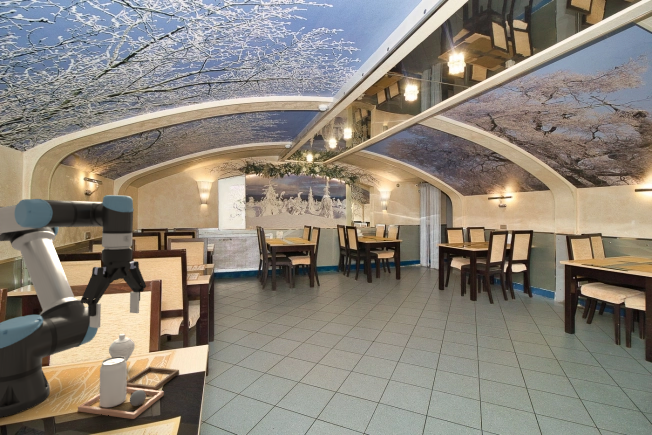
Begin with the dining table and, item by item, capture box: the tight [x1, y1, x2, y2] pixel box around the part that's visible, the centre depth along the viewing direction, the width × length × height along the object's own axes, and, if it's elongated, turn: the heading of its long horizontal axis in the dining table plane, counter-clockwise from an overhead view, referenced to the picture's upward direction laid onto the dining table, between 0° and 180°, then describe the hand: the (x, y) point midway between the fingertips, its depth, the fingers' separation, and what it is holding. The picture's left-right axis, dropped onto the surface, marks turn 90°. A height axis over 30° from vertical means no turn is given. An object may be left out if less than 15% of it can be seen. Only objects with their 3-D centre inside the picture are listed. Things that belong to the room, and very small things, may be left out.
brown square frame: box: [127, 366, 180, 391], centre depth 105 cm, size 12×12×1 cm
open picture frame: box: [77, 387, 165, 420], centre depth 92 cm, size 18×12×1 cm, turn 80°
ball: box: [129, 390, 147, 407], centre depth 91 cm, size 4×4×4 cm
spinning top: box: [108, 333, 136, 363], centre depth 113 cm, size 8×8×12 cm
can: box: [99, 356, 128, 409], centre depth 92 cm, size 6×6×12 cm
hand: (116, 319), depth 95 cm, fingers open, 13 cm apart
